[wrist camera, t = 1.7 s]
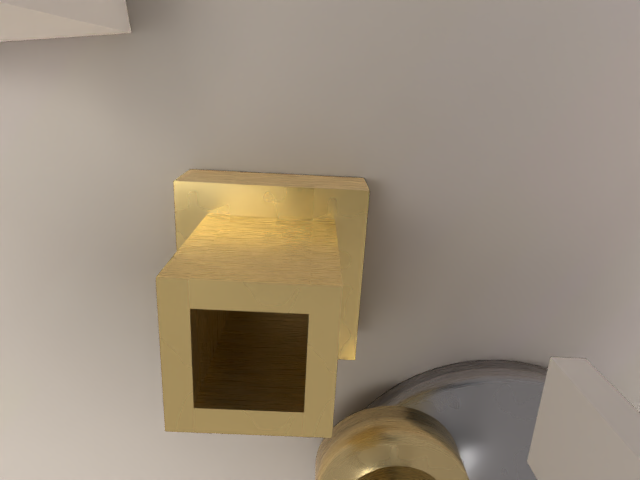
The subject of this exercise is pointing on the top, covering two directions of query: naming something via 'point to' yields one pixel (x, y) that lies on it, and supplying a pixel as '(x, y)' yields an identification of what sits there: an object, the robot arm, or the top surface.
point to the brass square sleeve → (260, 301)
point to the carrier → (442, 427)
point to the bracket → (61, 18)
